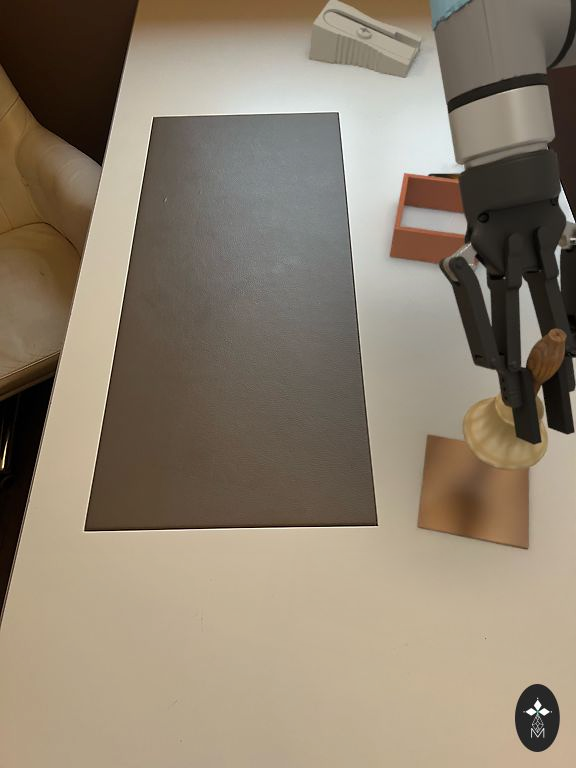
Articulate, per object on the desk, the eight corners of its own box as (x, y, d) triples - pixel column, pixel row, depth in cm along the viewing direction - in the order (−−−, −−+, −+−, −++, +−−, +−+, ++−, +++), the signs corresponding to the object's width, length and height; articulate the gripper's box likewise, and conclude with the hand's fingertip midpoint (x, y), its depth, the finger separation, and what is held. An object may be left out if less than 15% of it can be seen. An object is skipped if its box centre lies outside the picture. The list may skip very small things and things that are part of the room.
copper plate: (528, 453, 75) (529, 452, 74) (527, 549, 68) (528, 548, 68) (427, 435, 76) (427, 433, 76) (417, 527, 70) (417, 526, 69)
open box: (480, 212, 99) (488, 183, 94) (476, 269, 92) (485, 241, 87) (399, 201, 100) (404, 172, 96) (389, 256, 93) (394, 228, 89)
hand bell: (530, 486, 59) (598, 393, 46) (448, 445, 61) (490, 346, 48) (558, 421, 63) (628, 318, 50) (480, 386, 65) (527, 279, 52)
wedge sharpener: (327, 33, 131) (328, -3, 125) (420, 49, 126) (426, 13, 121) (309, 59, 125) (309, 22, 119) (406, 77, 121) (411, 41, 115)
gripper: (561, 148, 55) (593, 403, 59) (396, 185, 52) (444, 447, 57) (623, 128, 47) (654, 420, 52) (435, 169, 45) (486, 472, 50)
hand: (544, 434), depth 54 cm, fingers closed on hand bell, 2 cm apart
